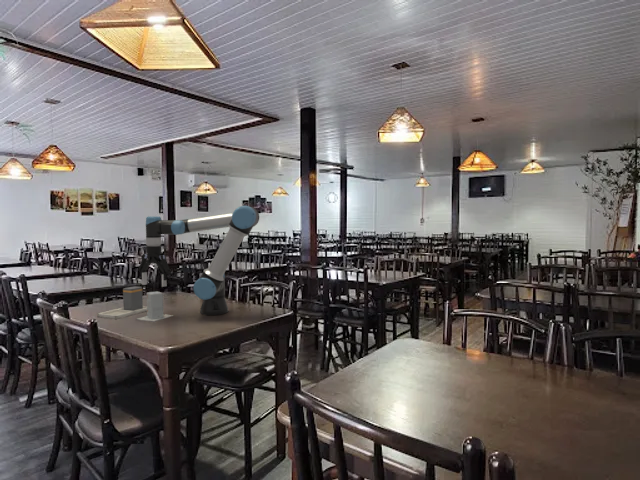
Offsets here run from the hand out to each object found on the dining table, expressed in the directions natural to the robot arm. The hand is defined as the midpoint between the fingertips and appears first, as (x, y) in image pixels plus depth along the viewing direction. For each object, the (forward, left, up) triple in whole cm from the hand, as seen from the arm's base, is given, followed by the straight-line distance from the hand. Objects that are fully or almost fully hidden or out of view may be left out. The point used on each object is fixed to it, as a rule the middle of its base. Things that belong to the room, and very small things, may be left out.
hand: (154, 285), depth 223 cm
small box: (0, 0, -17) cm, 17 cm away
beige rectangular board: (+23, -1, -17) cm, 29 cm away
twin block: (+23, -7, -17) cm, 29 cm away
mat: (0, 0, -17) cm, 17 cm away
